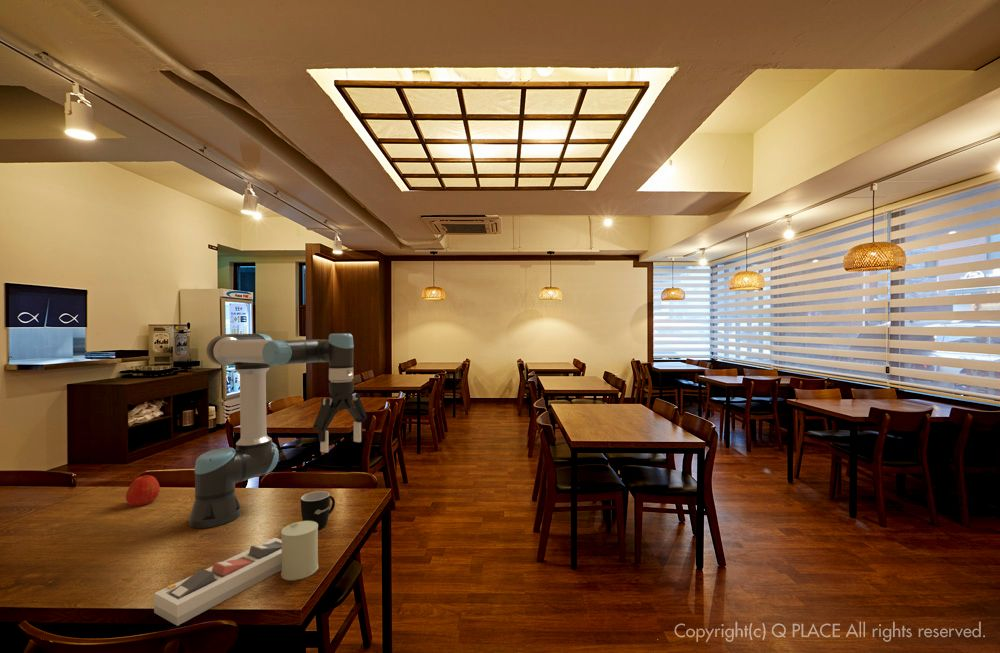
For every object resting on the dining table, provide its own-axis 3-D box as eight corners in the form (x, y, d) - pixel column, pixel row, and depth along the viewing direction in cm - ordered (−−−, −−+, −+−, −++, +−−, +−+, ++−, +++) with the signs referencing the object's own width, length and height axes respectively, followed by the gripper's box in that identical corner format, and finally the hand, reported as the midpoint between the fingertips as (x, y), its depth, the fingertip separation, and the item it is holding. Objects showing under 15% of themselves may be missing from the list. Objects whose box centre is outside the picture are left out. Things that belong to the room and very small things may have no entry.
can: (306, 558, 122) (306, 516, 123) (325, 568, 117) (325, 523, 117) (274, 573, 115) (273, 528, 115) (292, 584, 109) (292, 537, 110)
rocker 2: (259, 557, 114) (261, 549, 114) (248, 553, 116) (251, 545, 117) (284, 553, 120) (286, 545, 121) (273, 549, 122) (275, 542, 123)
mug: (312, 534, 137) (312, 502, 137) (295, 528, 141) (294, 497, 141) (343, 520, 147) (343, 490, 147) (325, 515, 152) (325, 486, 152)
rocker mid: (222, 575, 105) (225, 566, 106) (211, 570, 108) (214, 562, 108) (251, 570, 112) (253, 562, 112) (240, 566, 114) (242, 558, 115)
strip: (177, 625, 94) (177, 603, 94) (154, 612, 99) (154, 591, 99) (321, 548, 128) (321, 531, 128) (298, 541, 133) (298, 525, 133)
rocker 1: (181, 605, 97) (178, 598, 97) (171, 599, 100) (168, 593, 99) (215, 578, 104) (212, 572, 103) (204, 574, 106) (201, 567, 106)
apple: (164, 501, 167) (164, 474, 167) (131, 510, 158) (131, 482, 158) (154, 496, 172) (154, 470, 172) (121, 504, 164) (121, 477, 164)
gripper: (317, 385, 126) (317, 458, 126) (377, 377, 148) (377, 439, 148) (300, 384, 130) (300, 455, 129) (361, 376, 152) (361, 436, 151)
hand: (341, 446), depth 139 cm, fingers open, 13 cm apart
